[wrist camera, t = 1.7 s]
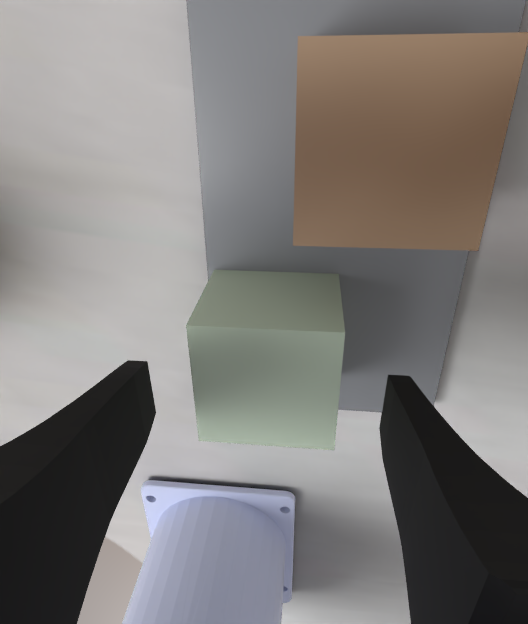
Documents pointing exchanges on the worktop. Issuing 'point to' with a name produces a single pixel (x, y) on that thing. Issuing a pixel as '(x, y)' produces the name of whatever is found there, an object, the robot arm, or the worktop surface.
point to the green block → (268, 358)
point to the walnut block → (401, 137)
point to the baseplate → (281, 172)
